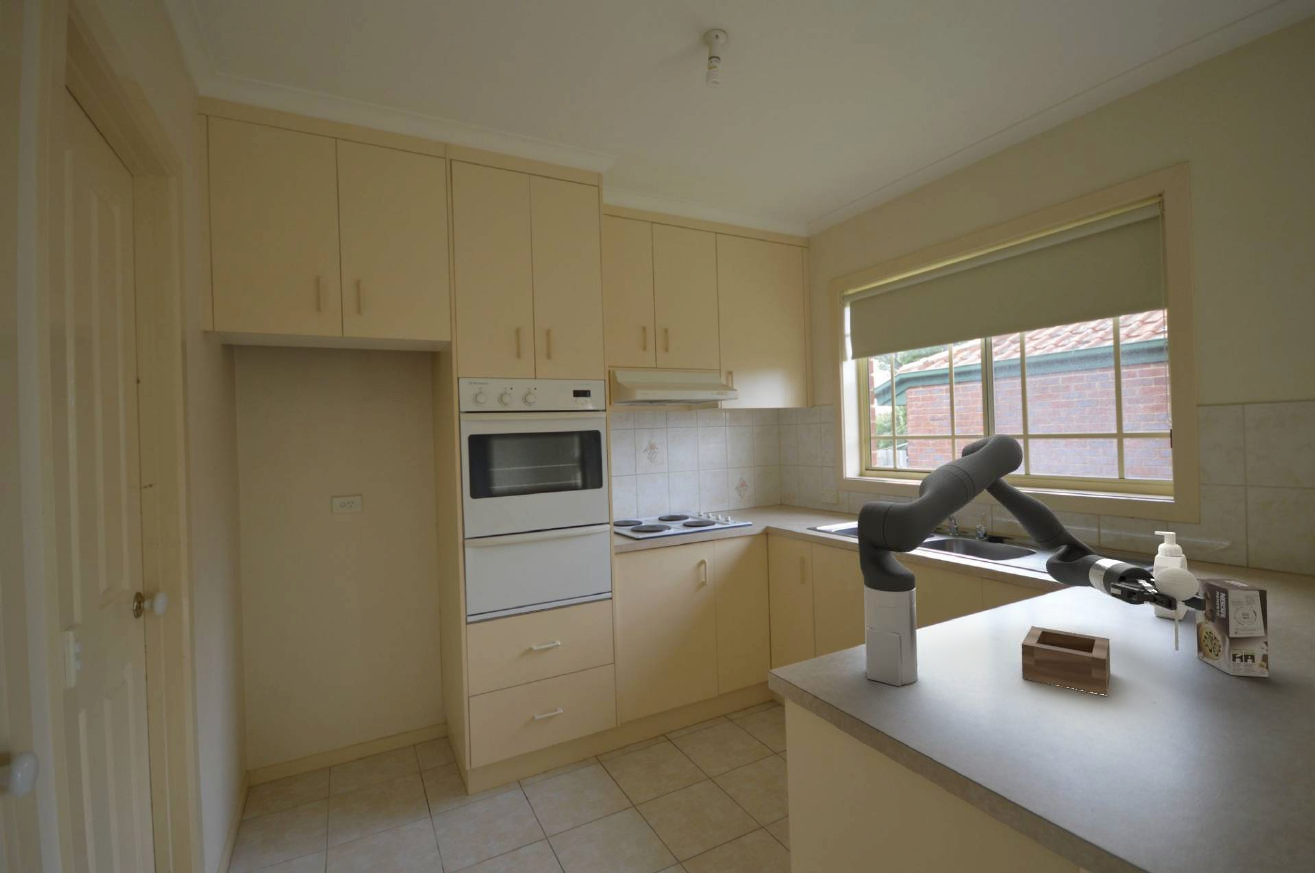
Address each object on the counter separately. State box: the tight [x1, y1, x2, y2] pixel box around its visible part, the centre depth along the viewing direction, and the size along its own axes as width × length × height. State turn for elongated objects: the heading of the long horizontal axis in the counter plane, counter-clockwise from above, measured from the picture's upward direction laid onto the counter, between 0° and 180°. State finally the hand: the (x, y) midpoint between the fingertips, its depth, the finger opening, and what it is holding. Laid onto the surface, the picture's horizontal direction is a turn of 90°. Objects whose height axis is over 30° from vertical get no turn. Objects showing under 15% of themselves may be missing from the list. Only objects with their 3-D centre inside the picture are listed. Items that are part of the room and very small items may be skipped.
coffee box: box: [1195, 578, 1270, 678], centre depth 112 cm, size 9×6×16 cm
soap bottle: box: [1152, 530, 1189, 621], centre depth 145 cm, size 16×5×20 cm, turn 133°
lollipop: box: [1154, 567, 1199, 652], centre depth 105 cm, size 6×6×15 cm
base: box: [1021, 625, 1111, 696], centre depth 110 cm, size 12×12×6 cm
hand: (1188, 604), depth 103 cm, fingers closed on lollipop, 4 cm apart
